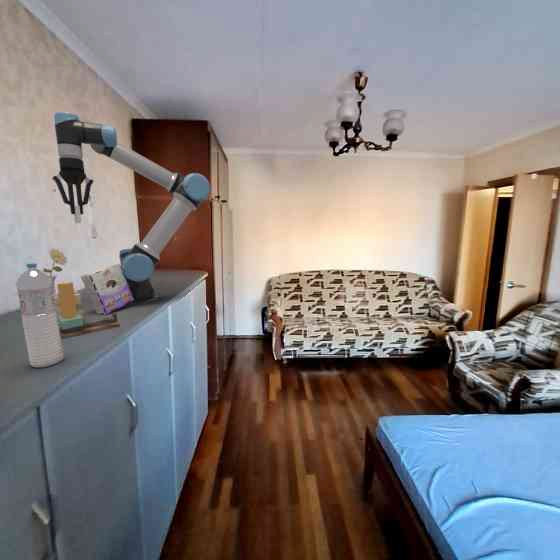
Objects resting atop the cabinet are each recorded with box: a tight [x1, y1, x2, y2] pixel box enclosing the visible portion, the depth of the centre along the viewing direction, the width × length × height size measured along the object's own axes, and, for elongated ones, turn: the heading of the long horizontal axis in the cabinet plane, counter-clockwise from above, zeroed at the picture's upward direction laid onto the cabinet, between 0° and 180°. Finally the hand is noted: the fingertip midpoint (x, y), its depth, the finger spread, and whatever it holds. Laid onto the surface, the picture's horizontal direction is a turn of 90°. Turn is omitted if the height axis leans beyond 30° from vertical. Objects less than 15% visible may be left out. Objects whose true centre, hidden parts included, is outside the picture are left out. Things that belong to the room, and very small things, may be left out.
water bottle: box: [15, 262, 65, 369], centre depth 74 cm, size 7×7×25 cm
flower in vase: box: [42, 247, 68, 294], centre depth 125 cm, size 13×11×25 cm
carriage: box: [57, 281, 83, 330], centre depth 95 cm, size 5×7×14 cm
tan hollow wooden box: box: [54, 290, 85, 327], centre depth 108 cm, size 8×8×10 cm
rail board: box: [59, 311, 121, 340], centre depth 99 cm, size 18×7×4 cm, turn 132°
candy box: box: [80, 263, 134, 315], centre depth 121 cm, size 14×6×16 cm, turn 156°
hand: (78, 223), depth 117 cm, fingers closed
